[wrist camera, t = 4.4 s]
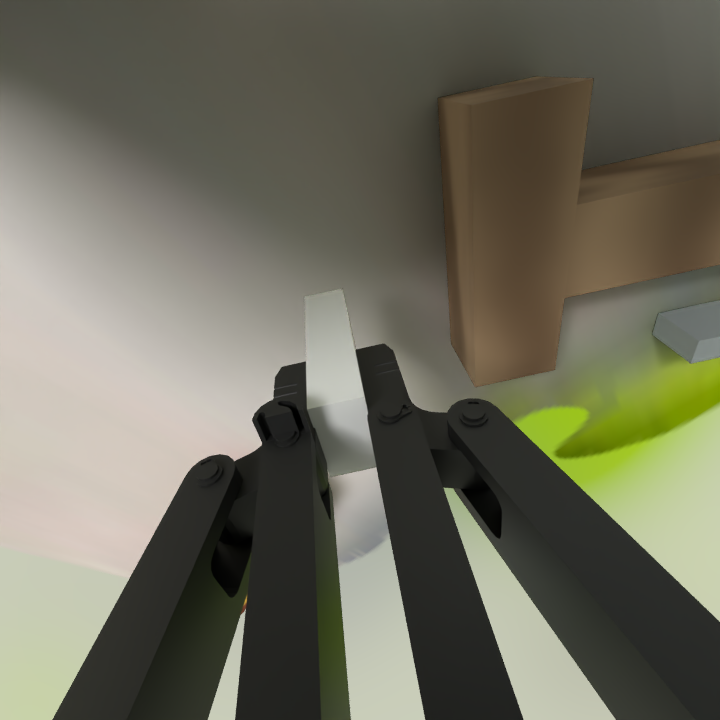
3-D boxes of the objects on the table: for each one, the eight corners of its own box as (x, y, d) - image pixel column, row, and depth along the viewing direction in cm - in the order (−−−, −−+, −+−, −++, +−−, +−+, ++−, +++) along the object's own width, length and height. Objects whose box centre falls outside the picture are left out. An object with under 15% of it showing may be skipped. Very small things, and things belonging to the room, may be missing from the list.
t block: (450, 343, 23) (475, 387, 20) (437, 97, 16) (471, 105, 13) (692, 290, 23) (755, 326, 20) (782, 22, 16) (900, 11, 13)
